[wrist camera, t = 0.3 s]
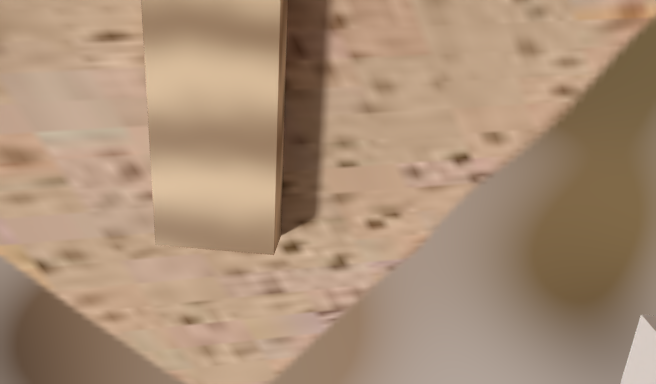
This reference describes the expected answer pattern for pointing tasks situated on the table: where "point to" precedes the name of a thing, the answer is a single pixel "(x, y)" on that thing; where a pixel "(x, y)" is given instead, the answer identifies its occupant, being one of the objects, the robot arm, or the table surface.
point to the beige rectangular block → (216, 121)
